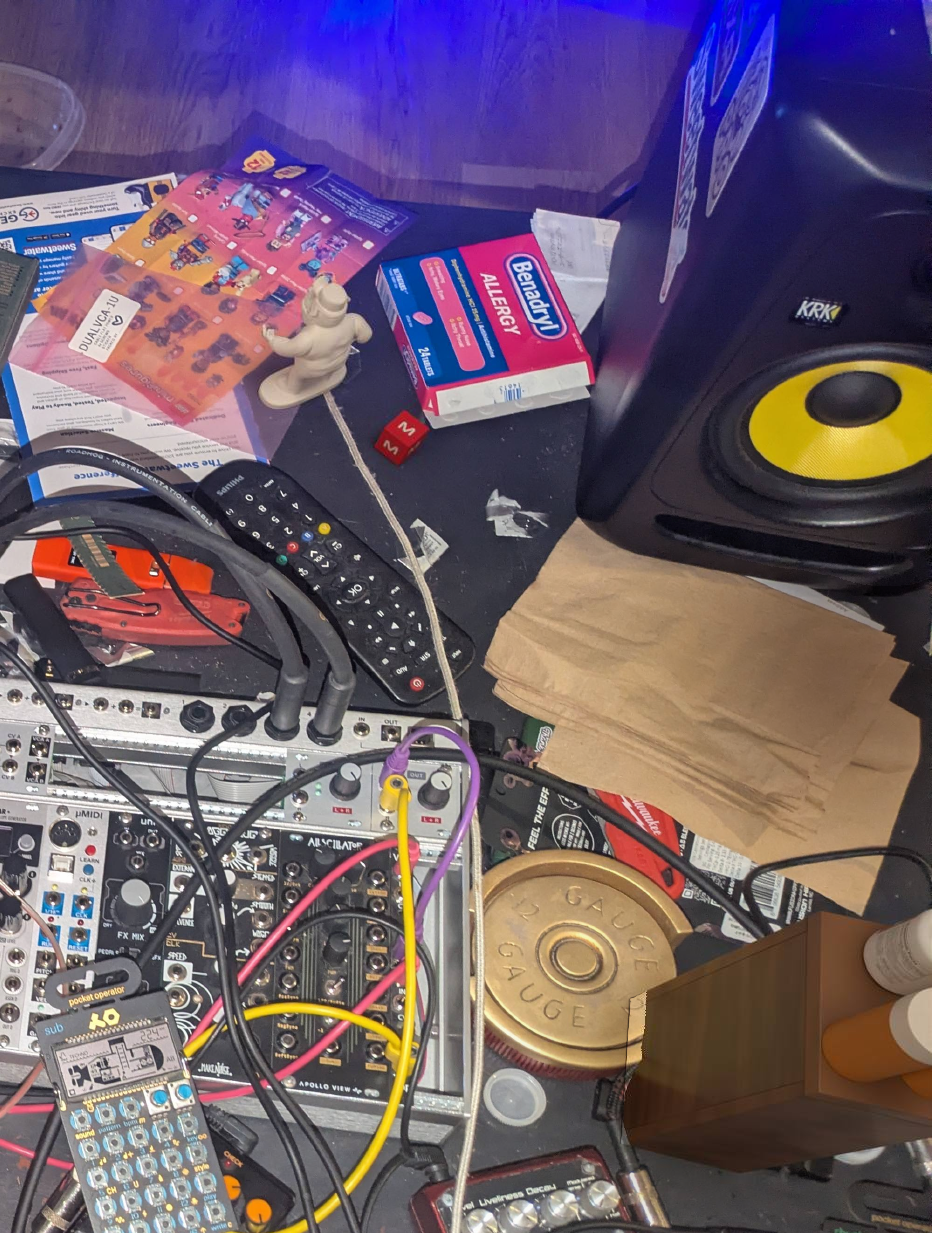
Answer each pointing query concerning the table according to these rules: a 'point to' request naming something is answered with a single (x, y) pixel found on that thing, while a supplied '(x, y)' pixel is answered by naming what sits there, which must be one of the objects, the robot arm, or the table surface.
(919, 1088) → the amber bottle
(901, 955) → the pill bottle
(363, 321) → the figurine
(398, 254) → the table surface
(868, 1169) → the table surface
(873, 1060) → the amber bottle
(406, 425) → the dice
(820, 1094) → the shelf
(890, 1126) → the wooden crate
